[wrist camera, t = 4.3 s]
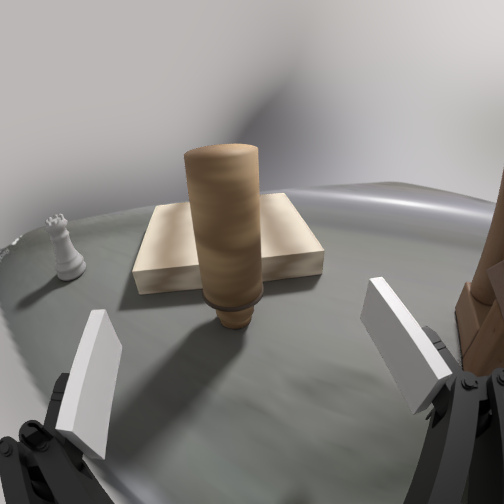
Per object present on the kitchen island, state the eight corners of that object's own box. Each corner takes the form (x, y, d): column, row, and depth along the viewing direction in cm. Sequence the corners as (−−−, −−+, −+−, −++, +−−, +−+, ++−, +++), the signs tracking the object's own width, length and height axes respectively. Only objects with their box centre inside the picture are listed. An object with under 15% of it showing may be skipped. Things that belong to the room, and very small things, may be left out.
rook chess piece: (89, 261, 37) (73, 207, 32) (83, 279, 33) (64, 221, 29) (63, 266, 36) (45, 215, 32) (55, 284, 32) (33, 229, 28)
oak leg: (259, 296, 29) (253, 141, 22) (268, 334, 25) (265, 155, 17) (206, 302, 29) (185, 147, 21) (208, 341, 24) (179, 163, 17)
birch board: (284, 210, 48) (284, 193, 46) (321, 273, 32) (324, 250, 31) (159, 223, 46) (156, 206, 44) (139, 294, 30) (132, 271, 29)
